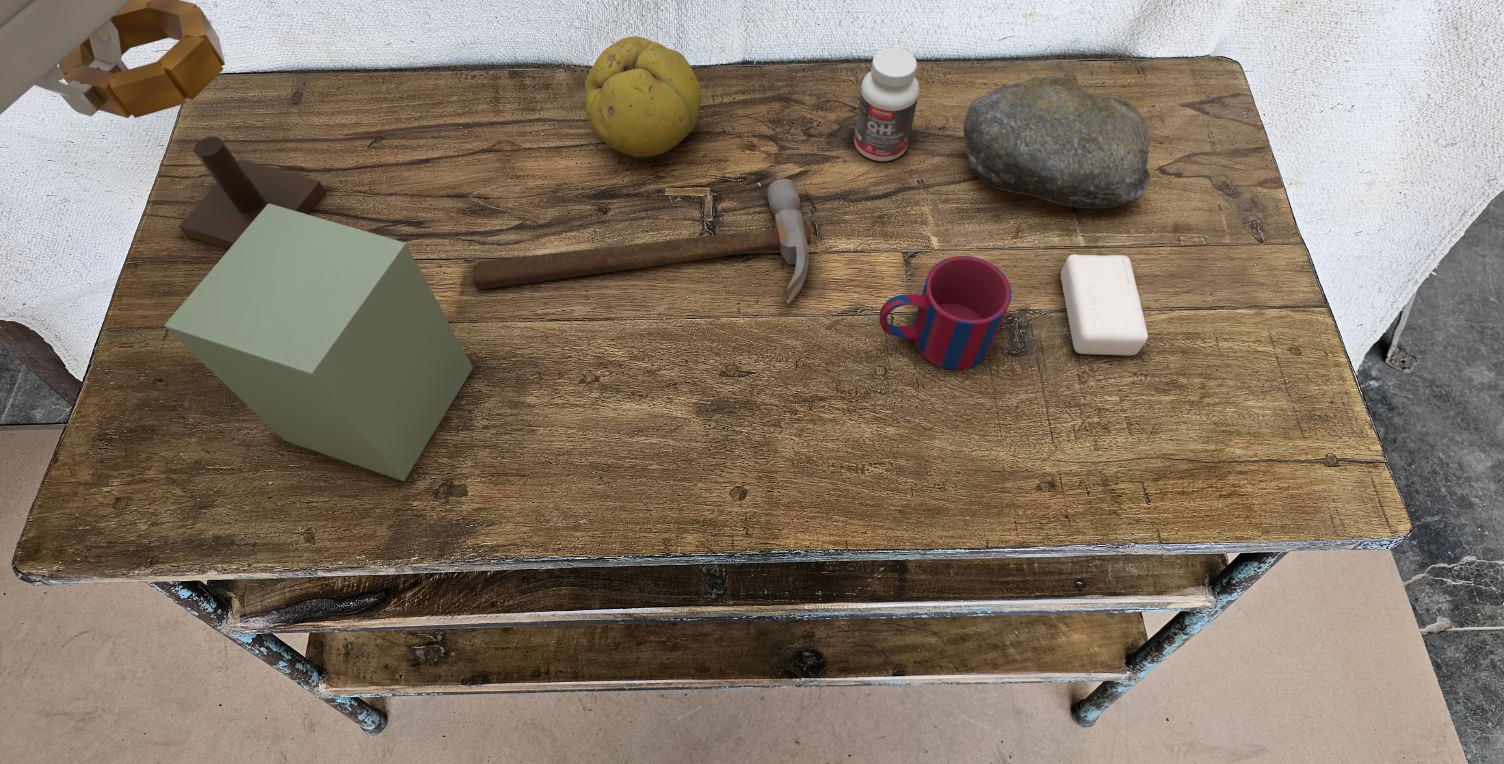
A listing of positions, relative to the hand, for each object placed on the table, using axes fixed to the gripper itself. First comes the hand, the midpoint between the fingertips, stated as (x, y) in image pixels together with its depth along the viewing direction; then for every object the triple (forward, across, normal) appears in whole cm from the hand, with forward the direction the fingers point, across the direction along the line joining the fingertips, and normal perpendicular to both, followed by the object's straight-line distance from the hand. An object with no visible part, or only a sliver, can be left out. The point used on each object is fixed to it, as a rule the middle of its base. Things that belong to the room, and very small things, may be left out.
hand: (106, 95), depth 63 cm
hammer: (+18, -10, +37) cm, 42 cm away
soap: (+18, -18, +76) cm, 80 cm away
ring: (+1, -4, 0) cm, 4 cm away
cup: (+18, -11, +63) cm, 66 cm away
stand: (+17, -4, 0) cm, 18 cm away
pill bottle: (+18, -32, +53) cm, 64 cm away
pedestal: (+17, +10, +22) cm, 30 cm away
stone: (+18, -33, +69) cm, 79 cm away
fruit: (+18, -25, +31) cm, 44 cm away
